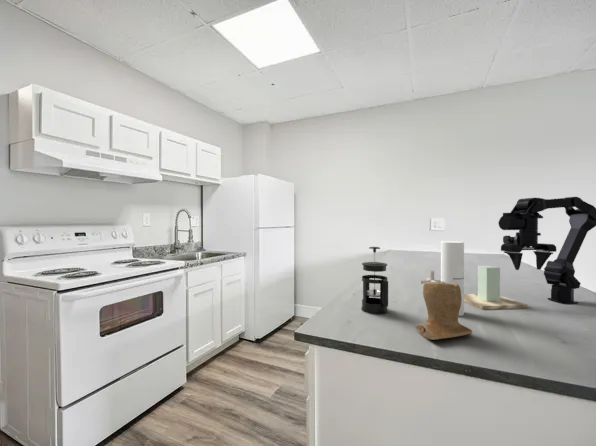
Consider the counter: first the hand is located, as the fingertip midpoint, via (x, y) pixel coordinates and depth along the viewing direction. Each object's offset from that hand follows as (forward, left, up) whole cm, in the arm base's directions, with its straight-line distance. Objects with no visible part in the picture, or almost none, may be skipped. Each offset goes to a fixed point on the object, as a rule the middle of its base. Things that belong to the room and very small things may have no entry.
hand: (527, 269), depth 111 cm
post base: (+15, -2, -13) cm, 20 cm away
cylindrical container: (+37, +8, -13) cm, 40 cm away
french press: (+63, +3, -13) cm, 64 cm away
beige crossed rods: (+29, -18, -13) cm, 37 cm away
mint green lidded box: (+15, -2, -12) cm, 19 cm away
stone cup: (+52, +25, -13) cm, 59 cm away
